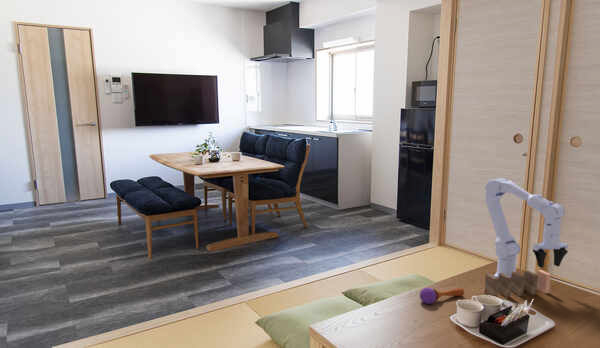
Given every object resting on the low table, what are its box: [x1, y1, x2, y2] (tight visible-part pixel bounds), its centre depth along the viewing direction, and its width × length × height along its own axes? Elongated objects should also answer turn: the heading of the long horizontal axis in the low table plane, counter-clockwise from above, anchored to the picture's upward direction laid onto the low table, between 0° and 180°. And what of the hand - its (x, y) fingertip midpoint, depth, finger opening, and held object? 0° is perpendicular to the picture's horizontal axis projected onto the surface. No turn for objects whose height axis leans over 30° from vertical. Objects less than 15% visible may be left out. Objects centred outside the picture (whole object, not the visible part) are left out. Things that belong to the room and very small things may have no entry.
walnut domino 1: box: [483, 273, 498, 298], centre depth 165 cm, size 2×5×8 cm, turn 11°
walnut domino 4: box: [523, 270, 538, 295], centre depth 169 cm, size 2×5×8 cm, turn 11°
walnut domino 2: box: [497, 273, 512, 298], centre depth 166 cm, size 2×5×8 cm, turn 11°
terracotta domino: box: [536, 269, 552, 294], centre depth 170 cm, size 2×5×8 cm, turn 11°
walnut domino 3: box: [510, 271, 525, 297], centre depth 167 cm, size 2×5×8 cm, turn 12°
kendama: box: [419, 287, 465, 305], centre depth 161 cm, size 6×6×20 cm
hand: (548, 266), depth 169 cm, fingers open, 7 cm apart
